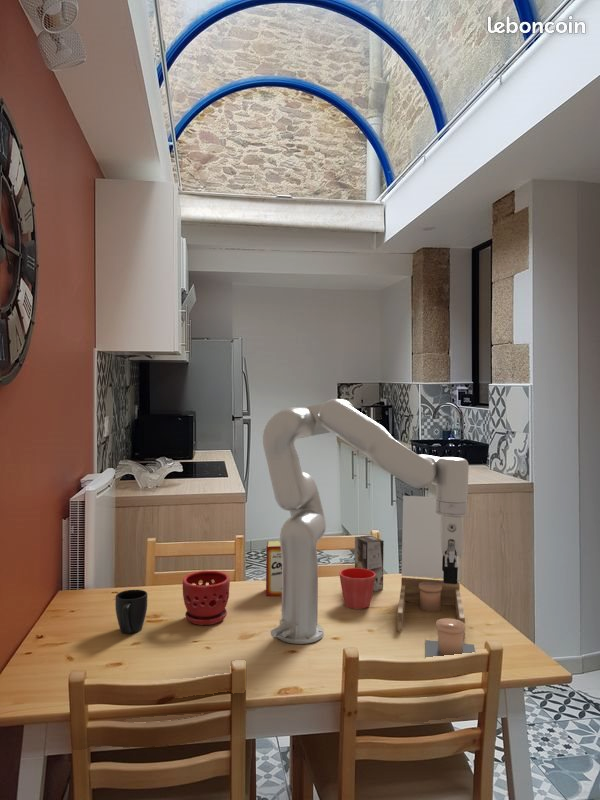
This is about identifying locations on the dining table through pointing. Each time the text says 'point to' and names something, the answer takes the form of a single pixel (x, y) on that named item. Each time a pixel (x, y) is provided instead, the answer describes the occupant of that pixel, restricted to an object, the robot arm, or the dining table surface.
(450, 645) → the small pot
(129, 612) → the mug
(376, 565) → the coffee box
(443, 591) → the wooden open tray
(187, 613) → the plant pot
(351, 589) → the flower pot
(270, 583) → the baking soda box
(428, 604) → the pot
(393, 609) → the dining table surface
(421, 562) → the lid
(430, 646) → the rubber mat
